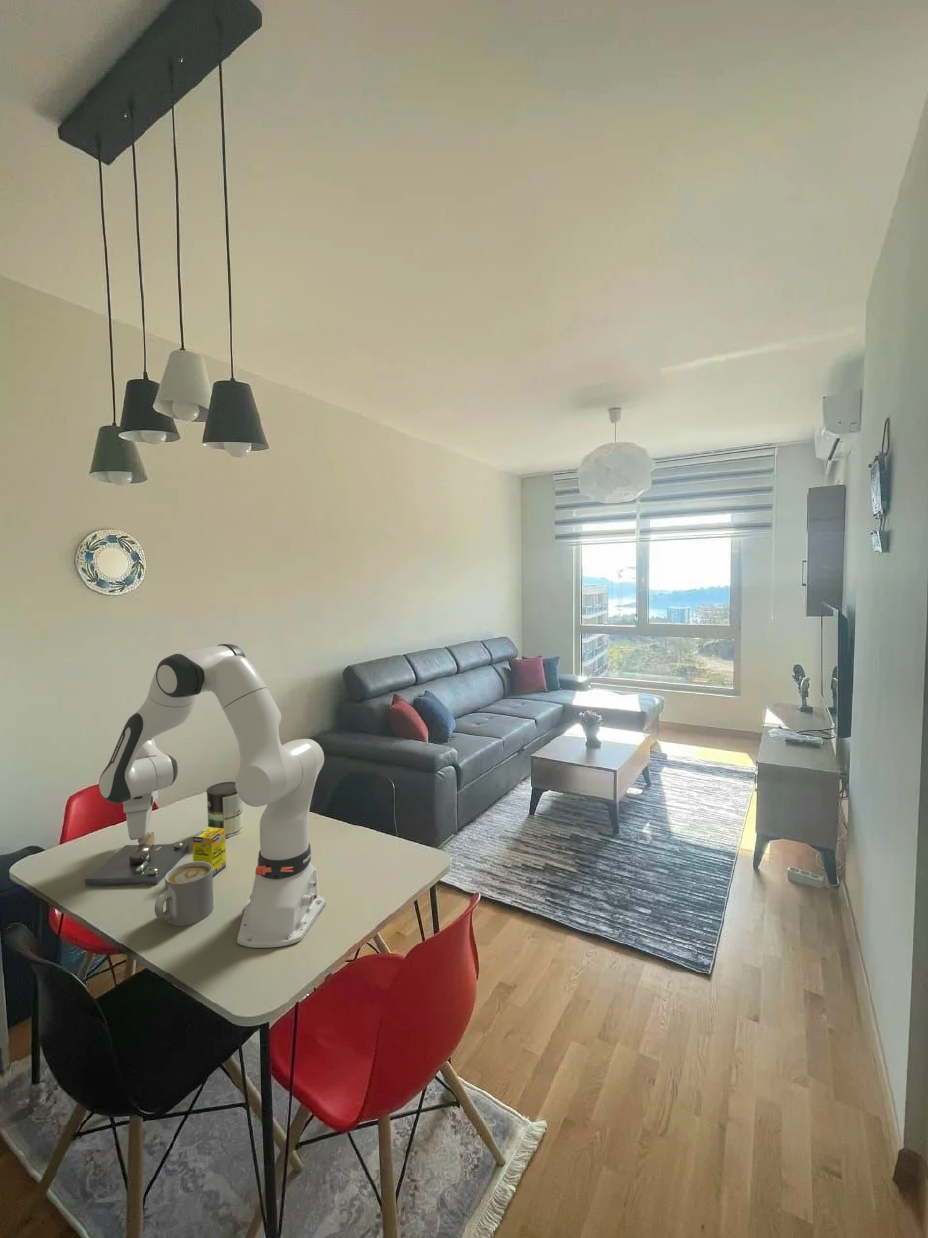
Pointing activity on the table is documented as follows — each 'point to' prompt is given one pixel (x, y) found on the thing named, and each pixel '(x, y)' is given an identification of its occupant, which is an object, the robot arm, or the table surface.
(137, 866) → the plate
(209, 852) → the supplement box
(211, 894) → the coffee mug
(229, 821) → the coffee can
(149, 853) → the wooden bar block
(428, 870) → the table surface
